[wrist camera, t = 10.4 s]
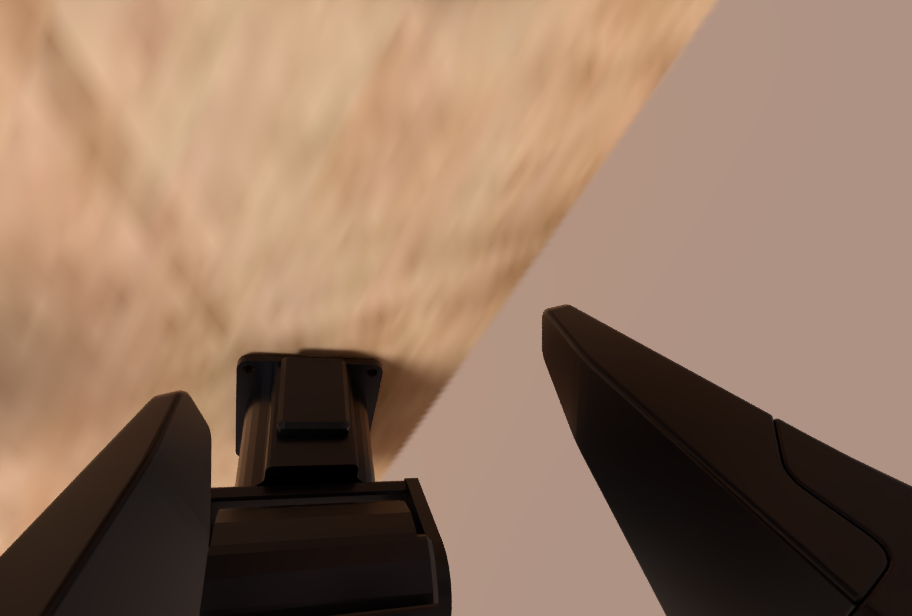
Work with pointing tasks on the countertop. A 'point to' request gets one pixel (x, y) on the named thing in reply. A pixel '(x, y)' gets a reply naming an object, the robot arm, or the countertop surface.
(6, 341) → the countertop surface
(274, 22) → the countertop surface
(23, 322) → the countertop surface
